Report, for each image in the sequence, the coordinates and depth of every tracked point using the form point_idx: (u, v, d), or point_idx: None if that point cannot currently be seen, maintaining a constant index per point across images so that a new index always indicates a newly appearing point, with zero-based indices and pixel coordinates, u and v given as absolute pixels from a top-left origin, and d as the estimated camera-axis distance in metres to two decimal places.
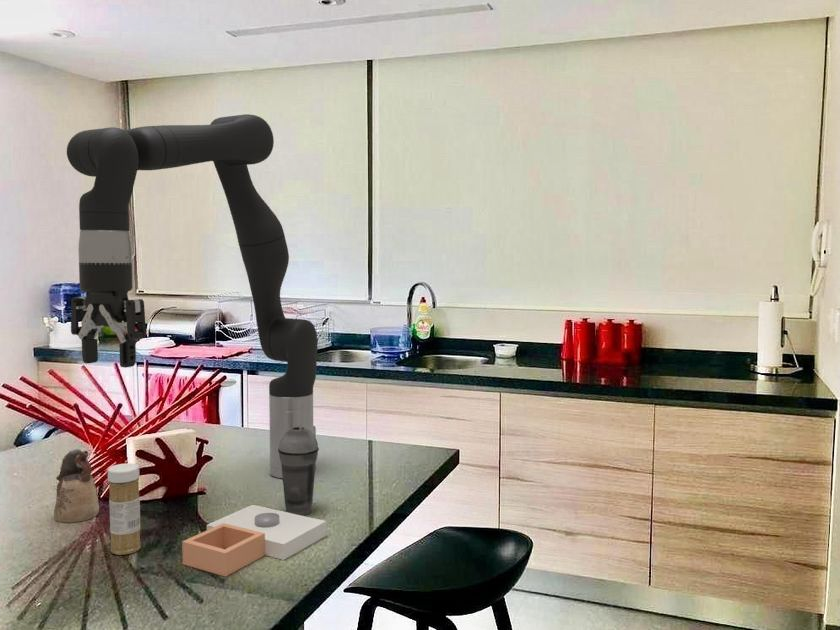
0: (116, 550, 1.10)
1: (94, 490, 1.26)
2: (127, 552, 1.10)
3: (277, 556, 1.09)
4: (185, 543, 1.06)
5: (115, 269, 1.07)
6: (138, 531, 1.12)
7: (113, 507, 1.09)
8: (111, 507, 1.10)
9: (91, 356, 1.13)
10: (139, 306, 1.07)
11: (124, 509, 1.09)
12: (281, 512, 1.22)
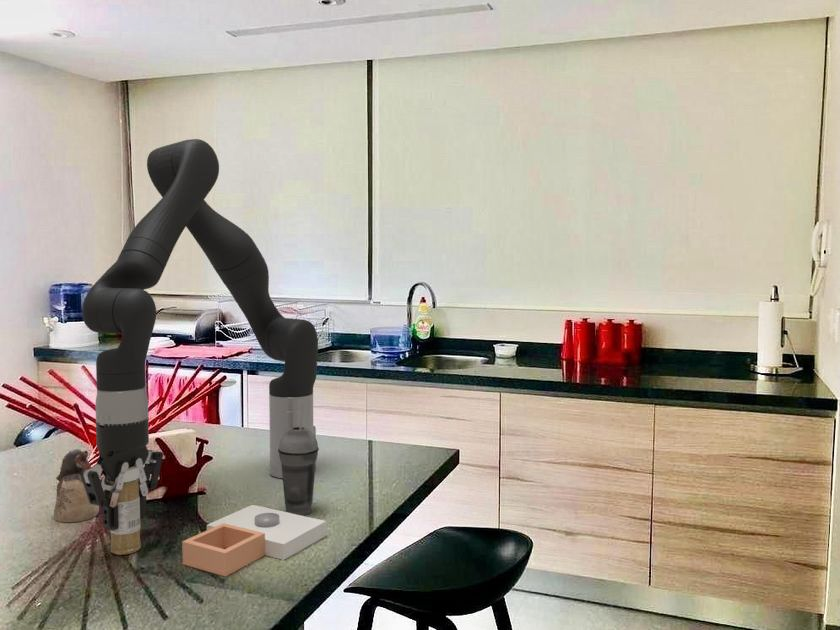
0: (116, 550, 1.10)
1: None
2: (127, 552, 1.10)
3: (277, 556, 1.09)
4: (185, 543, 1.06)
5: None
6: (138, 531, 1.12)
7: None
8: None
9: None
10: None
11: (124, 509, 1.09)
12: (281, 512, 1.22)
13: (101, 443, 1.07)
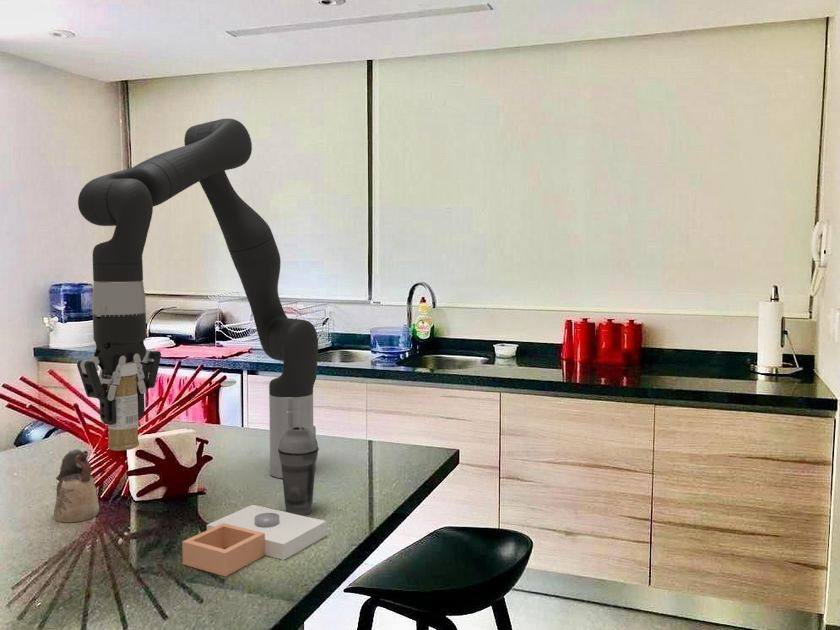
0: (114, 445, 1.09)
1: (94, 490, 1.26)
2: (125, 448, 1.09)
3: (277, 556, 1.09)
4: (185, 543, 1.06)
5: None
6: (136, 428, 1.10)
7: None
8: None
9: None
10: None
11: (122, 404, 1.08)
12: (281, 512, 1.22)
13: (98, 335, 1.06)
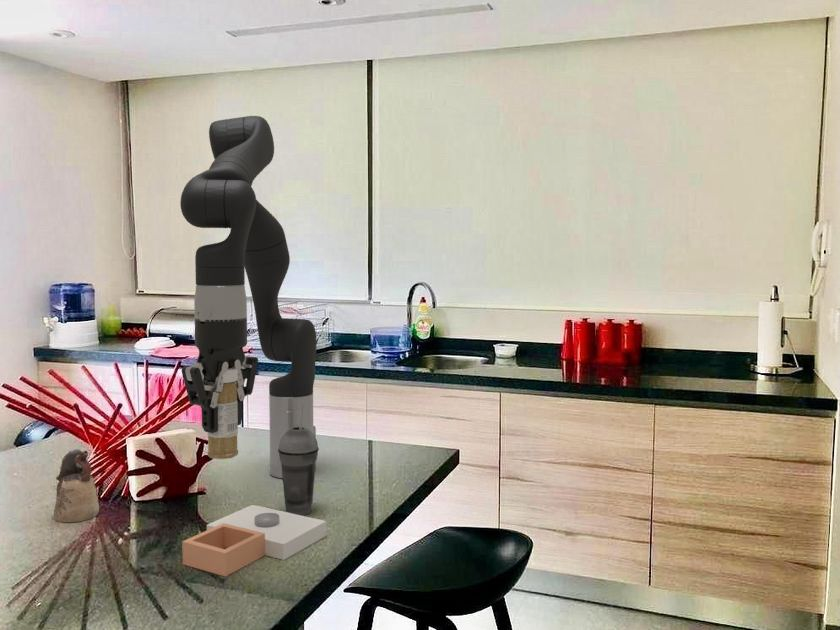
0: (215, 454, 1.05)
1: (94, 490, 1.26)
2: (226, 456, 1.06)
3: (277, 556, 1.09)
4: (185, 543, 1.06)
5: None
6: (236, 436, 1.07)
7: None
8: None
9: None
10: None
11: (224, 411, 1.05)
12: (281, 512, 1.22)
13: (201, 340, 1.03)
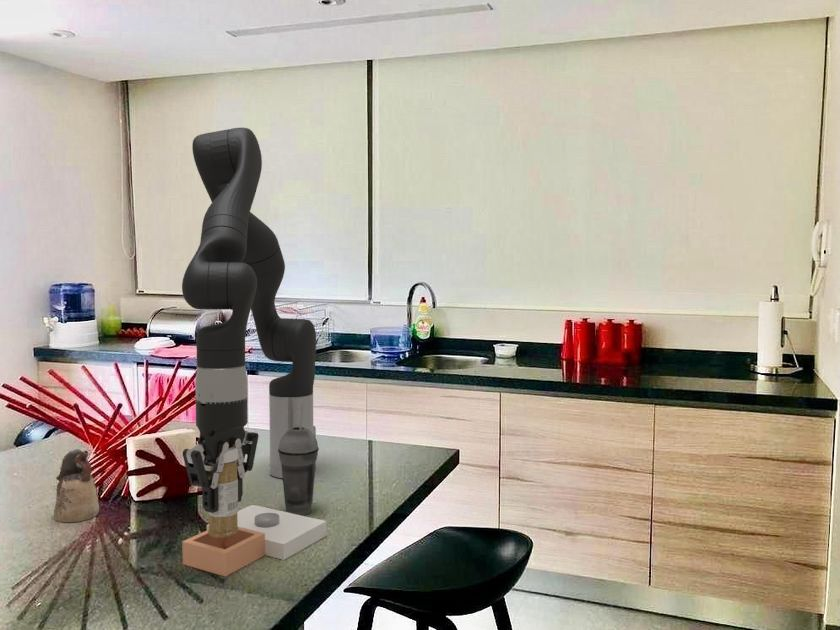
0: (215, 533, 1.06)
1: (94, 490, 1.26)
2: (226, 535, 1.07)
3: (277, 556, 1.09)
4: (185, 543, 1.06)
5: None
6: (236, 514, 1.08)
7: None
8: None
9: None
10: None
11: (224, 491, 1.06)
12: (281, 512, 1.22)
13: (202, 422, 1.04)
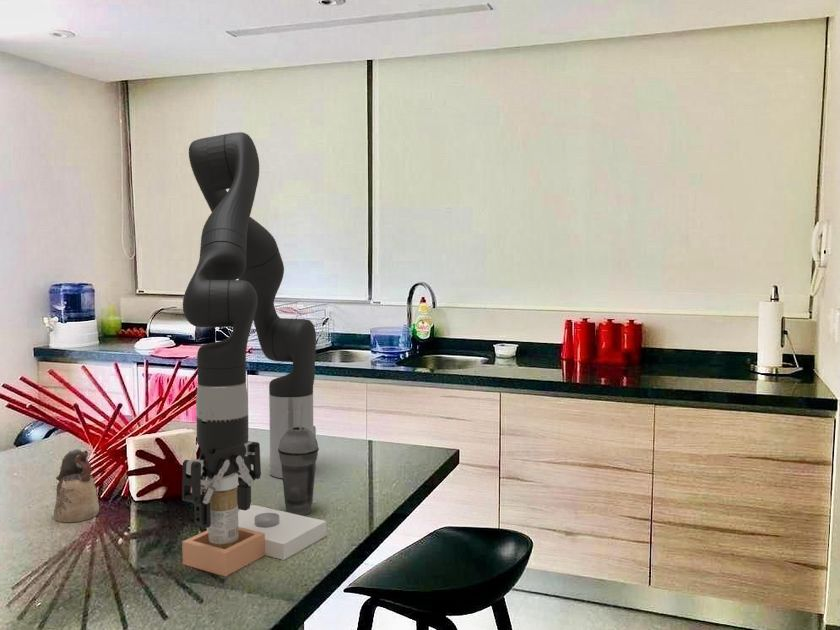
0: None
1: (94, 490, 1.26)
2: None
3: (277, 556, 1.09)
4: (185, 543, 1.06)
5: None
6: (237, 540, 1.08)
7: (213, 516, 1.06)
8: (211, 516, 1.06)
9: None
10: None
11: (225, 518, 1.06)
12: (281, 512, 1.22)
13: (203, 440, 1.04)
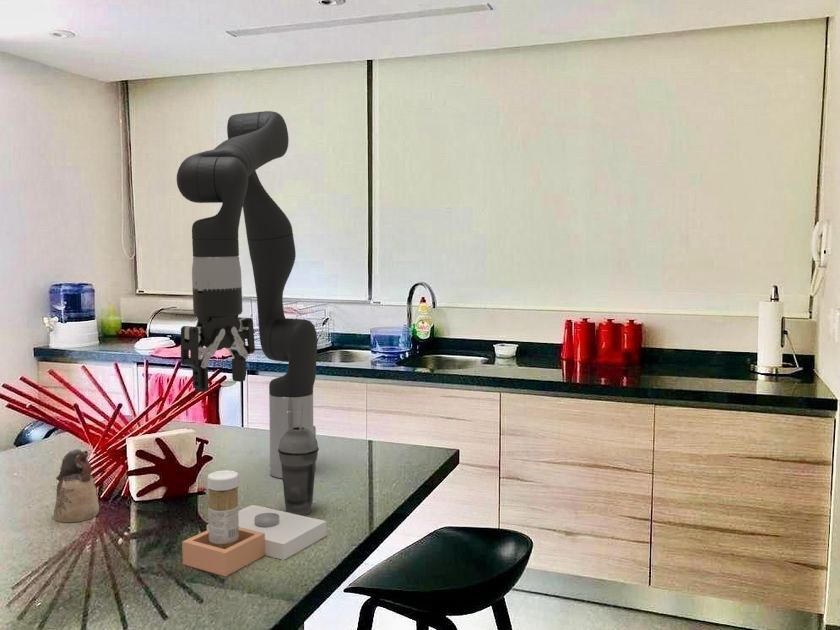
0: None
1: (94, 490, 1.26)
2: None
3: (277, 556, 1.09)
4: (185, 543, 1.06)
5: None
6: (237, 540, 1.08)
7: (213, 516, 1.06)
8: (211, 515, 1.06)
9: None
10: None
11: (225, 518, 1.06)
12: (281, 512, 1.22)
13: (200, 309, 1.10)
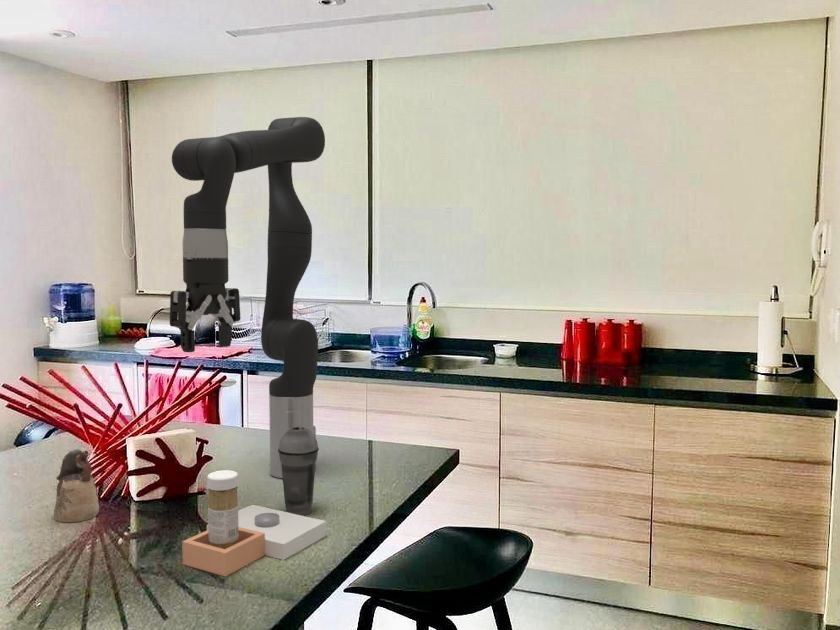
0: None
1: (94, 490, 1.26)
2: None
3: (277, 556, 1.09)
4: (185, 543, 1.06)
5: None
6: (237, 540, 1.08)
7: (213, 516, 1.06)
8: (211, 515, 1.06)
9: None
10: None
11: (225, 518, 1.06)
12: (281, 512, 1.22)
13: (188, 276, 1.20)
